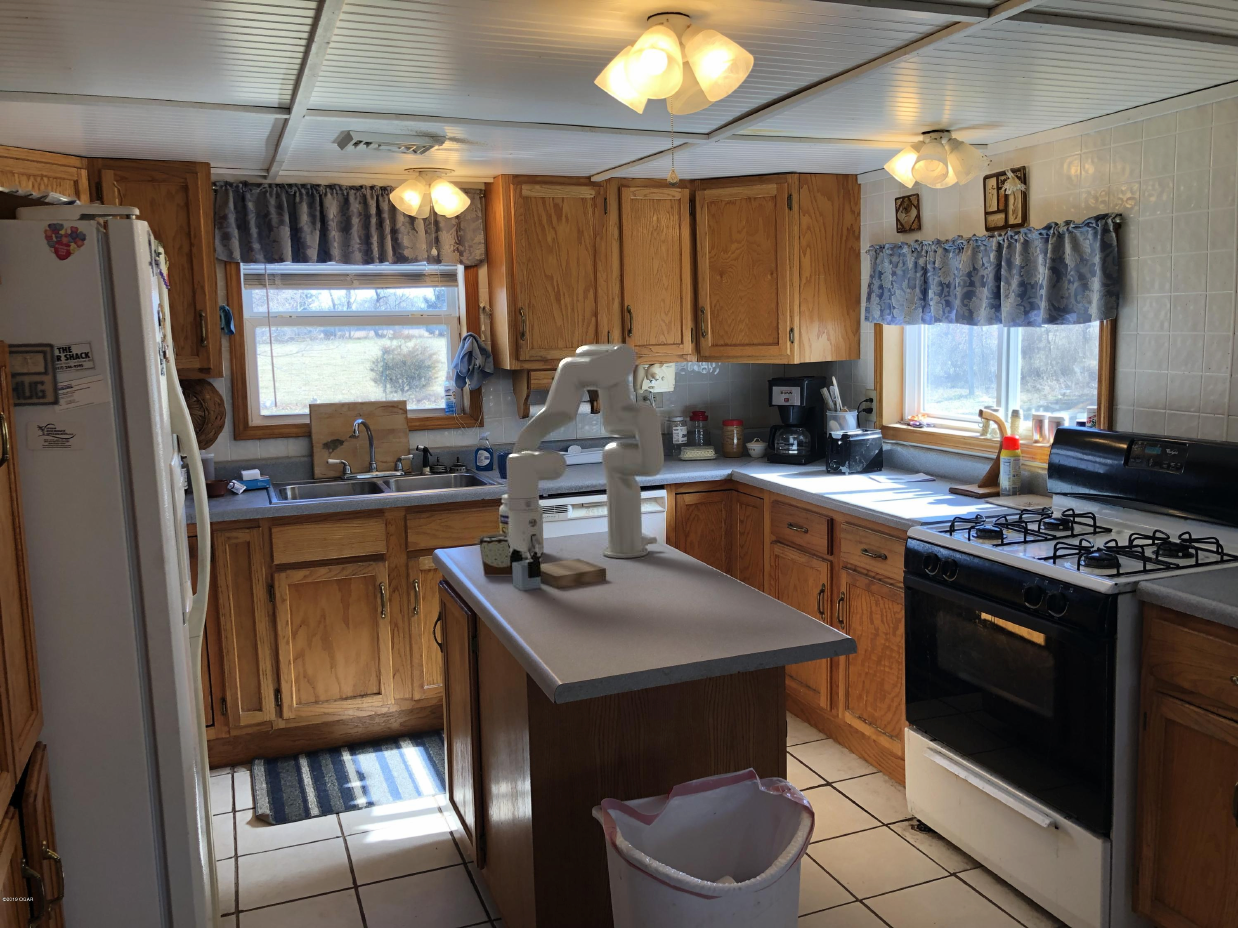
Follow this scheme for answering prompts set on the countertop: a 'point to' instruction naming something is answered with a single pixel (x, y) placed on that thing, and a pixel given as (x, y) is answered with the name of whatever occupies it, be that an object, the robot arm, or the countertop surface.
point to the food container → (495, 554)
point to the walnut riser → (571, 573)
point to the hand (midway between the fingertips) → (525, 573)
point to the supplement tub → (505, 519)
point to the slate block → (524, 577)
